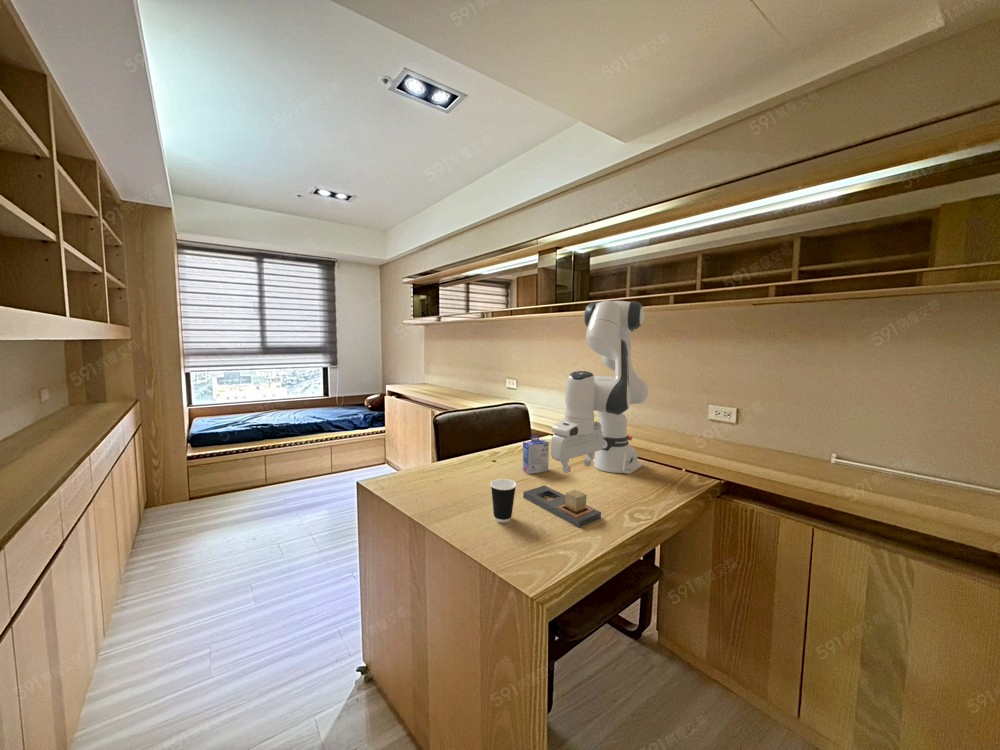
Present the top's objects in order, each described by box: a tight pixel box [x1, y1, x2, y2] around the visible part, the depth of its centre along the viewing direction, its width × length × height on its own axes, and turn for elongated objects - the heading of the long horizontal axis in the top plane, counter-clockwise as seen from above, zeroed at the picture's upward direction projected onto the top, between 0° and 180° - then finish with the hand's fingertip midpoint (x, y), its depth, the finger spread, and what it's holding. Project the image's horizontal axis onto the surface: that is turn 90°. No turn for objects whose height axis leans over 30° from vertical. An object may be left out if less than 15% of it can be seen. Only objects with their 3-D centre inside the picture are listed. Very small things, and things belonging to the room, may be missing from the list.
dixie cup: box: [489, 478, 517, 523], centre depth 114 cm, size 8×8×11 cm
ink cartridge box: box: [522, 434, 550, 475], centre depth 155 cm, size 10×6×14 cm, turn 116°
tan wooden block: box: [565, 489, 587, 515], centre depth 118 cm, size 4×4×7 cm
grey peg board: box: [522, 485, 602, 529], centre depth 123 cm, size 10×25×2 cm, turn 37°
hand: (577, 468), depth 117 cm, fingers open, 8 cm apart
